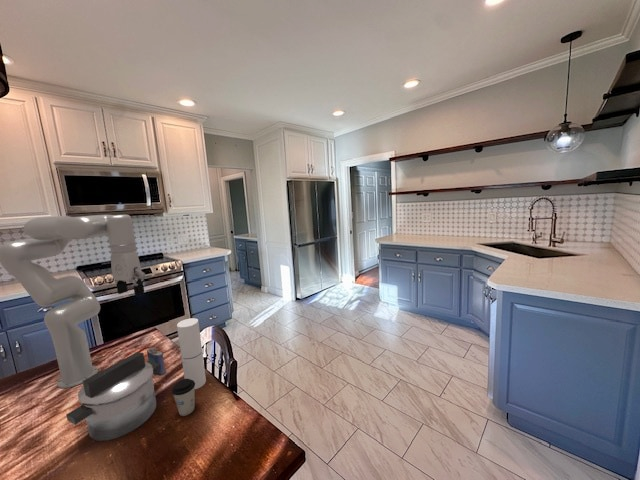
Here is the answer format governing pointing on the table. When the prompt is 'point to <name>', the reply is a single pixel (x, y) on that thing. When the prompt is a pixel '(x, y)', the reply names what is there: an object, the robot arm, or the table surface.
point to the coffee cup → (184, 396)
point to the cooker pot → (118, 413)
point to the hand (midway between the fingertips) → (131, 293)
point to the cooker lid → (116, 381)
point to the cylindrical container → (191, 351)
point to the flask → (156, 359)
